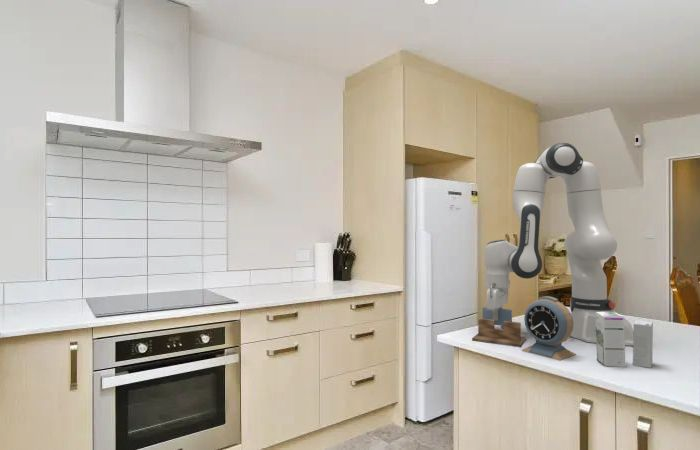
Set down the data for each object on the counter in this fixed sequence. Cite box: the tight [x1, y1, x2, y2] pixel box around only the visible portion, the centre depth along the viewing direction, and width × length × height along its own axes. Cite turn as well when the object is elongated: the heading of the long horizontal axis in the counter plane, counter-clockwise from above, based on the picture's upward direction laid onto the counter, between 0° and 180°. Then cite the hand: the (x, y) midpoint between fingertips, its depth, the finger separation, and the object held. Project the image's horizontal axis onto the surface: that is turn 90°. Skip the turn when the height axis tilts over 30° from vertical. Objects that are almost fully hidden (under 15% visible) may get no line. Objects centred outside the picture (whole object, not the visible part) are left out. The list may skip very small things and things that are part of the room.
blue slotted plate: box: [481, 306, 513, 329], centre depth 156 cm, size 10×2×9 cm, turn 58°
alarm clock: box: [521, 295, 577, 361], centre depth 130 cm, size 14×10×18 cm
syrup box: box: [595, 311, 627, 368], centre depth 119 cm, size 6×6×14 cm
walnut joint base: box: [471, 317, 527, 348], centre depth 145 cm, size 16×11×7 cm
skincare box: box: [632, 319, 654, 369], centre depth 118 cm, size 6×4×12 cm
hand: (497, 319), depth 156 cm, fingers open, 3 cm apart
